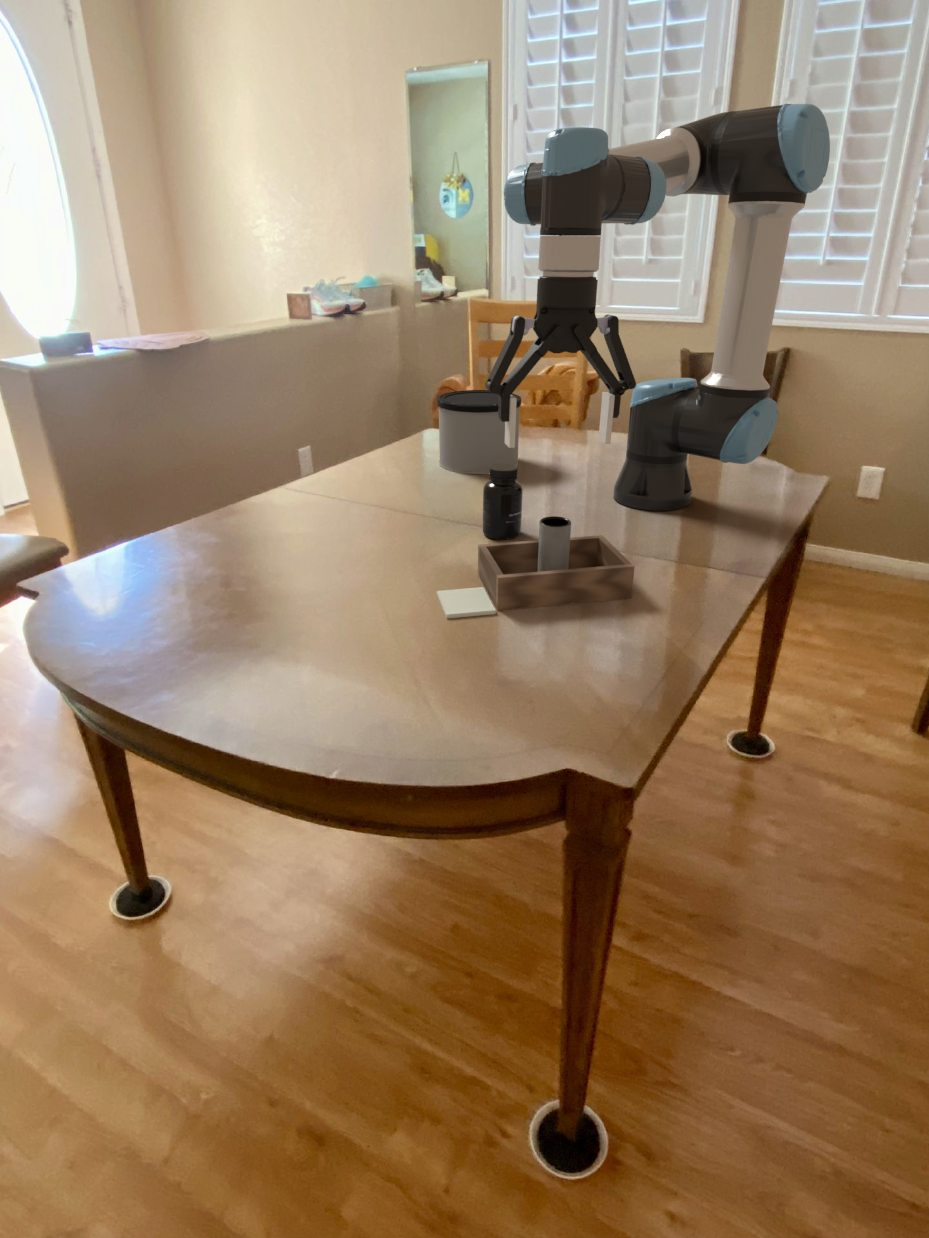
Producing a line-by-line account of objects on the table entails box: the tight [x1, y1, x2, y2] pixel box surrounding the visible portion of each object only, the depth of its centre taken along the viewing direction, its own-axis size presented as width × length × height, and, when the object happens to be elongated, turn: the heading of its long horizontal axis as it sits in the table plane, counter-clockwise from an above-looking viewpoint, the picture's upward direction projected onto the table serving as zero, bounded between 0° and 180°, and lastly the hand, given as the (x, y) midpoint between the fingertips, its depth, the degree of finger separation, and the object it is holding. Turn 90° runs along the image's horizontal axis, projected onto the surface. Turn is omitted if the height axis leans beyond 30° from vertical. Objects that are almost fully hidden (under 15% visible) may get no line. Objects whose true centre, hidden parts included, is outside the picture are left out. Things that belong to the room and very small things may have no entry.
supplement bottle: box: [482, 464, 524, 541], centre depth 133 cm, size 7×7×12 cm
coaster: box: [436, 586, 497, 619], centre depth 109 cm, size 7×8×1 cm
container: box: [436, 389, 522, 475], centre depth 174 cm, size 19×19×15 cm
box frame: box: [477, 534, 635, 611], centre depth 114 cm, size 20×13×5 cm, turn 101°
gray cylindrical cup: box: [538, 515, 572, 572], centre depth 113 cm, size 4×4×10 cm
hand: (557, 443), depth 105 cm, fingers open, 13 cm apart
